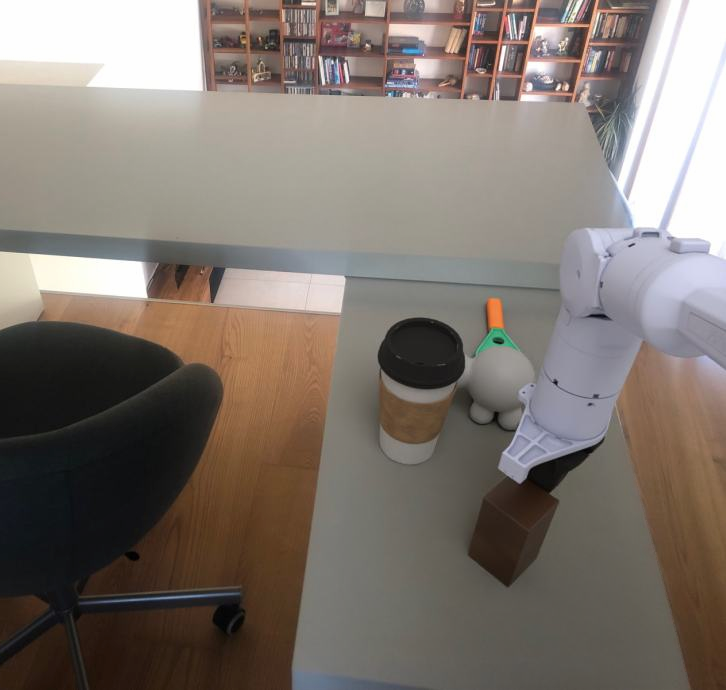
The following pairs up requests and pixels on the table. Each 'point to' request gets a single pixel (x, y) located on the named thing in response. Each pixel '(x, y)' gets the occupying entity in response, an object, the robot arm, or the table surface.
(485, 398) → the toy rhinoceros
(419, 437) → the coffee cup
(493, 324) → the vegetable peeler
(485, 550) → the brown wooden block
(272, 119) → the table surface
